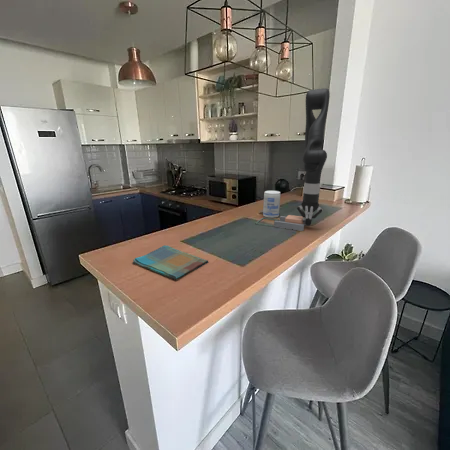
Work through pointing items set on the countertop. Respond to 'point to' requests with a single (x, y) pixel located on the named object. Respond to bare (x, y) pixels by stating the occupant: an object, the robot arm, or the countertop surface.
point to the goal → (266, 224)
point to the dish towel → (170, 262)
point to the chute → (289, 224)
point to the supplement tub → (271, 204)
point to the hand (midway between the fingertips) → (308, 225)
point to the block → (294, 219)
